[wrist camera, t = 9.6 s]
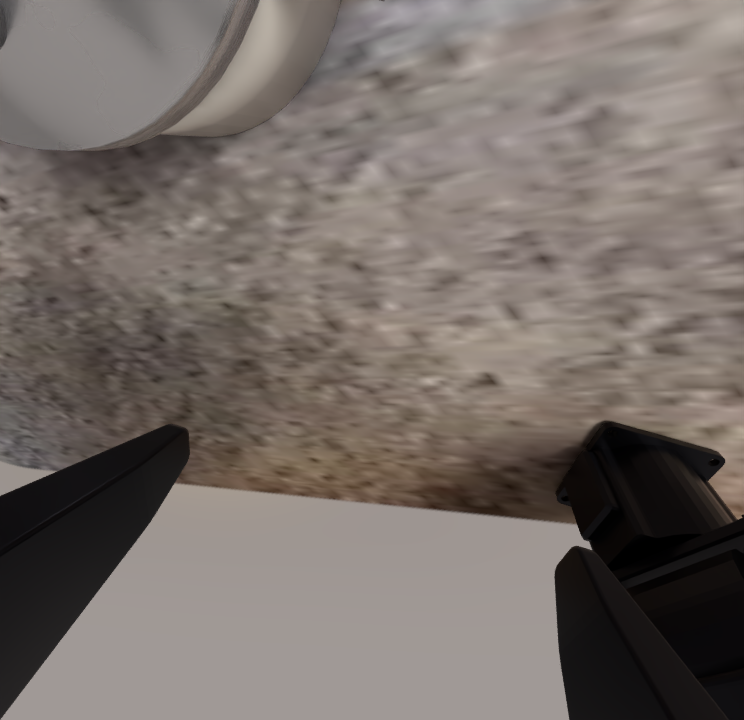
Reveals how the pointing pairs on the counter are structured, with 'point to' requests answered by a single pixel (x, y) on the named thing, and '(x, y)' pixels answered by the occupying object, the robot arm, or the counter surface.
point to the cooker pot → (264, 68)
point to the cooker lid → (110, 67)
